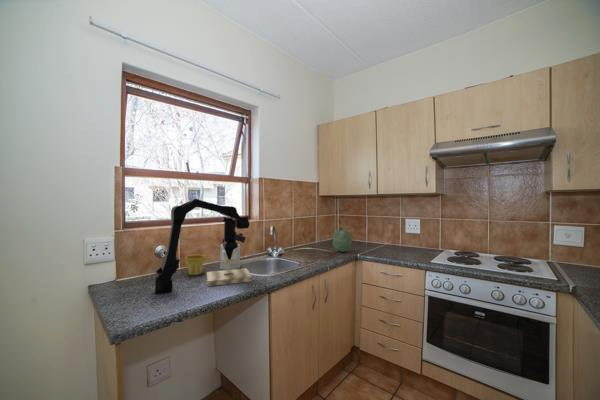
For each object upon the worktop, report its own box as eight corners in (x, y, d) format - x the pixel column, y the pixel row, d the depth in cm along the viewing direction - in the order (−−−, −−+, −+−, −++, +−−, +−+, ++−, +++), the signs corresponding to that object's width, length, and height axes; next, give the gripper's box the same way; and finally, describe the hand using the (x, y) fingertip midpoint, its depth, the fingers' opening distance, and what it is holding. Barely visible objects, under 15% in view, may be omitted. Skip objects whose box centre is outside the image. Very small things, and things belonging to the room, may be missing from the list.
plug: (222, 264, 127) (223, 252, 127) (221, 262, 131) (222, 250, 131) (236, 263, 130) (236, 251, 130) (235, 261, 134) (235, 249, 134)
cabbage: (340, 249, 217) (341, 227, 217) (356, 253, 201) (357, 229, 201) (327, 251, 208) (327, 227, 208) (342, 255, 192) (343, 230, 193)
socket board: (207, 286, 119) (207, 281, 119) (206, 276, 134) (206, 271, 134) (252, 281, 127) (252, 276, 127) (246, 272, 142) (246, 268, 142)
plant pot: (192, 270, 145) (193, 253, 145) (208, 271, 143) (208, 255, 143) (180, 275, 135) (181, 257, 135) (197, 276, 132) (197, 259, 132)
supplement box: (240, 268, 151) (241, 244, 151) (228, 271, 144) (229, 246, 144) (231, 265, 156) (231, 242, 156) (219, 268, 149) (219, 244, 149)
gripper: (247, 231, 125) (247, 261, 125) (242, 227, 142) (241, 253, 142) (225, 231, 121) (224, 263, 121) (222, 227, 138) (221, 255, 138)
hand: (229, 258), depth 130 cm, fingers closed on plug, 5 cm apart
